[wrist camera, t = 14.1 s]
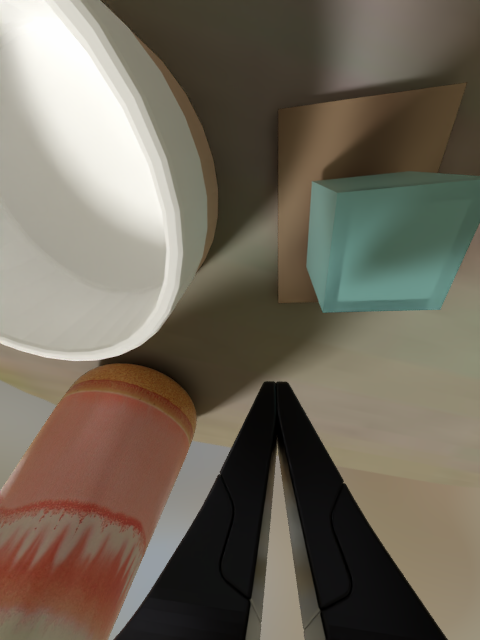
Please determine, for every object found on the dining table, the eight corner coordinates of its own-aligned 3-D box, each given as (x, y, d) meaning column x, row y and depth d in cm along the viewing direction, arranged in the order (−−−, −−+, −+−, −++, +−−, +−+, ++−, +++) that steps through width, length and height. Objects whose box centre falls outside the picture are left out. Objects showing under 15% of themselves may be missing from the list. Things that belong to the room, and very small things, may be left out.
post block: (456, 86, 12) (634, 15, 6) (391, 294, 18) (447, 354, 13) (278, 111, 13) (285, 72, 7) (278, 298, 20) (282, 354, 14)
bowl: (227, 300, 20) (206, 369, 14) (51, 296, 22) (-46, 356, 15) (204, -21, 11) (92, -341, 4) (-106, 16, 13) (-557, -158, 6)
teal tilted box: (409, 171, 13) (500, 177, 8) (385, 262, 16) (440, 309, 11) (311, 181, 13) (337, 192, 8) (306, 266, 16) (322, 312, 11)
